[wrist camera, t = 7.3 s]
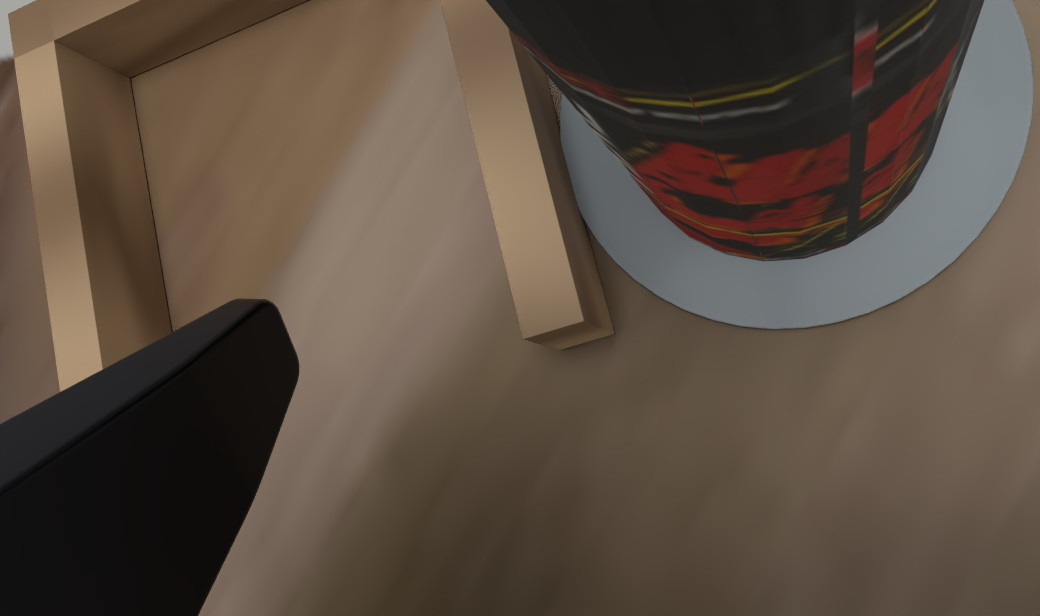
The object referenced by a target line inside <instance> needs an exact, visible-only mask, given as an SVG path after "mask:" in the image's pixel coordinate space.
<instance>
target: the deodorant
mask: <svg viewBox="0 0 1040 616" xmlns="http://www.w3.org/2000/svg"><path fill="white" fill-rule="evenodd" d="M486 1H487V2H488V4H489V5H490V6H491V7H492V8H493V10H494V11H495V12H496V13H497V15H498V16H499V17H500V18H501V19H502V21H503V22H504V23H505V24H506V25H507V27H508V28H509V29H510V30H511V31H512V33H513V34H514V35H515V36H516V38H517V39H518V40H519V41H520V42H521V44H522V45H523V46H524V47H525V48H526V50H527V51H528V52H529V53H530V54H531V56H532V57H533V58H534V59H535V61H536V62H537V63H538V64H539V65H540V67H541V68H542V69H543V70H544V71H545V73H546V74H547V75H548V76H549V77H550V79H551V80H552V81H553V82H554V84H555V85H556V86H557V87H558V88H559V90H560V91H561V92H562V93H563V94H564V96H565V97H566V98H567V99H568V100H569V102H570V103H571V104H572V105H573V107H574V108H575V109H576V110H577V111H578V113H579V114H580V115H581V116H582V117H583V119H584V120H585V121H586V122H587V123H588V125H589V126H590V127H591V128H592V130H593V131H594V132H595V133H596V134H597V136H598V137H599V138H600V139H601V140H602V142H603V143H604V144H605V145H606V146H607V148H608V149H609V150H610V151H611V153H612V154H613V155H614V156H615V157H616V159H617V160H618V161H619V162H620V163H621V165H622V166H623V167H624V168H625V169H626V171H627V172H628V173H629V174H630V176H631V177H632V178H633V179H634V180H635V182H636V183H637V184H638V185H639V186H640V188H641V189H642V190H643V191H644V192H645V194H646V195H647V196H648V197H649V199H650V200H651V201H652V202H653V203H654V205H655V206H656V207H657V208H658V209H659V211H660V212H661V213H662V214H663V215H664V216H665V217H667V218H668V219H669V220H670V221H671V222H672V223H674V224H675V225H676V226H677V227H678V228H679V229H680V230H682V231H683V232H684V233H685V234H686V235H687V236H688V237H690V238H692V239H694V240H696V241H698V242H700V243H702V244H704V245H706V246H708V247H710V248H713V249H715V250H717V251H719V252H721V253H723V254H726V255H732V256H737V257H743V258H748V259H753V260H759V261H779V260H792V259H805V258H808V257H812V256H815V255H818V254H821V253H824V252H827V251H830V250H833V249H836V248H840V247H843V246H846V245H847V244H849V243H851V242H852V241H854V240H855V239H857V238H859V237H860V236H862V235H863V234H865V233H867V232H868V231H870V230H871V229H873V228H875V227H876V226H878V225H879V224H881V223H883V221H884V220H885V219H886V218H887V217H888V216H889V215H890V214H891V213H892V212H893V211H894V210H895V209H896V208H897V207H898V206H899V205H900V204H901V203H902V201H903V200H904V199H905V198H906V197H907V196H908V195H909V194H910V193H911V192H912V191H913V189H914V187H915V185H916V183H917V181H918V179H919V178H920V176H921V174H922V172H923V170H924V168H925V166H926V165H927V163H928V161H929V159H930V157H931V155H932V153H933V150H934V147H935V144H936V141H937V138H938V135H939V132H940V129H941V126H942V124H943V121H944V118H945V115H946V112H947V109H948V106H949V103H950V100H951V97H952V94H953V91H954V88H955V85H956V82H957V80H958V77H959V74H960V71H961V68H962V65H963V62H964V59H965V56H966V53H967V50H968V47H969V44H970V41H971V38H972V35H973V33H974V30H975V27H976V24H977V21H978V18H979V15H980V12H981V9H982V6H983V3H984V0H486Z"/></svg>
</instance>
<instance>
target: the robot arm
mask: <svg viewBox="0 0 1040 616" xmlns="http://www.w3.org/2000/svg"><path fill="white" fill-rule="evenodd" d="M298 376H299V361H298V357H297V354H296V351H295V349H294V346H293V344H292V341H291V339H290V337H289V334H288V332H287V329H286V327H285V324H284V322H283V319H282V317H281V314H280V312H279V310H278V308H277V307H276V306H275V305H274V303H272V302H271V301H268V300H266V299H235V300H232V301H230V302H228V303H226V304H224V305H222V306H220V307H219V308H217V309H215V310H213V311H211V312H209V313H207V314H205V315H204V316H202V317H200V318H198V319H196V320H194V321H192V322H190V323H189V324H187V325H185V326H183V327H181V328H179V329H177V330H175V331H174V332H172V333H170V334H168V335H166V336H164V337H162V338H160V339H159V340H157V341H155V342H153V343H151V344H149V345H147V346H145V347H144V348H142V349H140V350H138V351H136V352H134V353H132V354H130V355H129V356H127V357H125V358H123V359H121V360H119V361H117V362H115V363H114V364H112V365H110V366H108V367H106V368H104V369H102V370H100V371H99V372H97V373H95V374H93V375H91V376H89V377H87V378H85V379H84V380H82V381H80V382H78V383H76V384H74V385H72V386H70V387H69V388H67V389H65V390H63V391H61V392H59V393H57V394H55V395H54V396H52V397H50V398H48V399H46V400H44V401H42V402H40V403H39V404H37V405H35V406H33V407H31V408H29V409H27V410H25V411H24V412H22V413H20V414H18V415H16V416H14V417H12V418H10V419H9V420H7V421H5V422H3V423H1V424H0V616H198V615H199V613H200V610H201V608H202V606H203V604H204V602H205V600H206V598H207V596H208V594H209V592H210V590H211V588H212V586H213V584H214V582H215V580H216V578H217V576H218V573H219V571H220V569H221V567H222V565H223V563H224V561H225V559H226V557H227V555H228V553H229V551H230V549H231V547H232V545H233V543H234V541H235V538H236V536H237V534H238V532H239V530H240V528H241V526H242V524H243V522H244V520H245V518H246V516H247V514H248V511H249V509H250V507H251V505H252V503H253V500H254V498H255V495H256V493H257V490H258V488H259V485H260V483H261V480H262V478H263V475H264V472H265V470H266V467H267V464H268V461H269V459H270V456H271V453H272V450H273V448H274V445H275V442H276V439H277V436H278V434H279V431H280V428H281V425H282V423H283V420H284V417H285V414H286V412H287V409H288V406H289V403H290V401H291V398H292V395H293V392H294V390H295V387H296V384H297V381H298Z"/></svg>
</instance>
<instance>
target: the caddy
mask: <svg viewBox="0 0 1040 616" xmlns="http://www.w3.org/2000/svg"><path fill="white" fill-rule="evenodd" d="M305 1H307V0H37V1H34V2H32V3H30V4H28V5H26V6H24V7H22V8H19V9H17V10H16V11H13V12H11V13H9V14H8V17H9V24H10V31H11V39H12V46H13V53H14V60H15V67H16V75H17V82H18V89H19V96H20V104H21V111H22V118H23V125H24V133H25V140H26V147H27V154H28V161H29V169H30V176H31V183H32V190H33V198H34V205H35V212H36V219H37V226H38V234H39V241H40V248H41V255H42V263H43V270H44V277H45V284H46V292H47V299H48V306H49V313H50V320H51V328H52V335H53V342H54V349H55V357H56V364H57V371H58V378H59V386H60V392H61V391H63V390H65V389H67V388H69V387H70V386H72V385H74V384H76V383H78V382H80V381H82V380H84V379H85V378H87V377H89V376H91V375H93V374H95V373H97V372H99V371H100V370H102V369H104V368H106V367H108V366H110V365H112V364H114V363H115V362H117V361H119V360H121V359H123V358H125V357H127V356H129V355H130V354H132V353H134V352H136V351H138V350H140V349H142V348H144V347H145V346H147V345H149V344H151V343H153V342H155V341H157V340H159V339H160V338H162V337H164V336H166V335H168V334H170V333H172V331H171V325H170V319H169V313H168V307H167V301H166V295H165V289H164V283H163V277H162V271H161V264H160V258H159V252H158V246H157V240H156V234H155V228H154V222H153V216H152V210H151V204H150V198H149V192H148V186H147V180H146V174H145V168H144V162H143V156H142V150H141V144H140V138H139V131H138V125H137V119H136V113H135V107H134V101H133V95H132V89H131V83H130V78H131V77H134V76H136V75H138V74H140V73H143V72H145V71H147V70H150V69H152V68H154V67H156V66H159V65H161V64H163V63H166V62H168V61H170V60H172V59H175V58H177V57H179V56H182V55H184V54H186V53H188V52H191V51H193V50H195V49H198V48H200V47H202V46H204V45H207V44H209V43H211V42H214V41H216V40H218V39H220V38H223V37H225V36H227V35H230V34H232V33H234V32H236V31H239V30H241V29H243V28H246V27H248V26H250V25H252V24H255V23H257V22H259V21H262V20H264V19H266V18H269V17H271V16H273V15H275V14H278V13H280V12H282V11H285V10H287V9H289V8H291V7H294V6H296V5H298V4H301V3H303V2H305ZM440 1H441V6H442V10H443V14H444V18H445V22H446V26H447V30H448V34H449V38H450V42H451V46H452V50H453V55H454V59H455V63H456V67H457V71H458V75H459V79H460V83H461V87H462V91H463V95H464V100H465V104H466V108H467V112H468V116H469V120H470V124H471V128H472V132H473V136H474V140H475V144H476V149H477V153H478V157H479V161H480V165H481V169H482V173H483V177H484V181H485V185H486V189H487V194H488V198H489V202H490V206H491V210H492V214H493V218H494V222H495V226H496V230H497V234H498V238H499V243H500V247H501V251H502V255H503V259H504V263H505V267H506V271H507V275H508V279H509V283H510V287H511V292H512V296H513V300H514V304H515V308H516V312H517V316H518V320H519V324H520V328H521V332H522V337H523V339H525V340H528V341H531V342H535V343H538V344H542V345H545V346H549V347H552V348H556V349H559V350H562V349H565V348H569V347H572V346H576V345H579V344H583V343H586V342H589V341H593V340H596V339H600V338H603V337H606V336H610V335H613V334H615V333H614V330H613V326H612V322H611V318H610V315H609V311H608V307H607V303H606V299H605V296H604V292H603V288H602V284H601V281H600V277H599V273H598V269H597V266H596V262H595V258H594V254H593V251H592V247H591V243H590V239H589V235H588V232H587V228H586V224H585V220H584V218H583V217H582V214H581V212H580V210H579V208H578V205H577V201H576V197H575V193H574V190H573V186H572V182H571V178H570V175H569V171H568V167H567V163H566V159H565V156H564V152H563V148H562V144H561V141H560V126H559V123H558V119H557V115H556V111H555V108H554V104H553V100H552V96H551V92H550V89H549V85H548V81H547V77H546V74H545V71H544V70H543V69H542V68H541V67H540V65H539V64H538V63H537V62H536V61H535V59H534V58H533V57H532V56H531V54H530V53H529V52H528V51H527V50H526V48H525V47H524V46H523V45H522V44H521V42H520V41H519V40H518V39H517V38H516V36H515V35H514V34H513V33H512V31H511V30H510V29H509V28H508V27H507V25H506V24H505V23H504V22H503V21H502V19H501V18H500V17H499V16H498V15H497V13H496V12H495V11H494V10H493V8H492V7H491V6H490V5H489V4H488V2H487V1H486V0H440Z"/></svg>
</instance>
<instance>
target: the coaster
mask: <svg viewBox="0 0 1040 616" xmlns="http://www.w3.org/2000/svg"><path fill="white" fill-rule="evenodd" d="M1032 103H1033V77H1032V65H1031V56H1030V52H1029V48H1028V44H1027V39H1026V35H1025V31H1024V27H1023V25H1022V23H1021V20H1020V18H1019V15H1018V13H1017V10H1016V8H1015V6H1014V3H1013V1H1012V0H984V3H983V6H982V9H981V12H980V15H979V18H978V21H977V24H976V27H975V30H974V33H973V35H972V38H971V41H970V44H969V47H968V50H967V53H966V56H965V59H964V62H963V65H962V68H961V71H960V74H959V77H958V80H957V82H956V85H955V88H954V91H953V94H952V97H951V100H950V103H949V106H948V109H947V112H946V115H945V118H944V121H943V124H942V126H941V129H940V132H939V135H938V138H937V141H936V144H935V147H934V150H933V153H932V155H931V157H930V159H929V161H928V163H927V165H926V166H925V168H924V170H923V172H922V174H921V176H920V178H919V179H918V181H917V183H916V185H915V187H914V189H913V191H912V192H911V193H910V194H909V195H908V196H907V197H906V198H905V199H904V200H903V201H902V203H901V204H900V205H899V206H898V207H897V208H896V209H895V210H894V211H893V212H892V213H891V214H890V215H889V216H888V217H887V218H886V219H885V220H884V221H883V223H881V224H879V225H878V226H876V227H875V228H873V229H871V230H870V231H868V232H867V233H865V234H863V235H862V236H860V237H859V238H857V239H855V240H854V241H852V242H851V243H849V244H847V245H846V246H843V247H840V248H836V249H833V250H830V251H827V252H824V253H821V254H818V255H815V256H812V257H808V258H805V259H792V260H779V261H759V260H753V259H748V258H743V257H737V256H732V255H726V254H723V253H721V252H719V251H717V250H715V249H713V248H710V247H708V246H706V245H704V244H702V243H700V242H698V241H696V240H694V239H692V238H690V237H688V236H687V235H686V234H685V233H684V232H683V231H682V230H680V229H679V228H678V227H677V226H676V225H675V224H674V223H672V222H671V221H670V220H669V219H668V218H667V217H665V216H664V215H663V214H662V213H661V212H660V211H659V209H658V208H657V207H656V206H655V205H654V203H653V202H652V201H651V200H650V199H649V197H648V196H647V195H646V194H645V192H644V191H643V190H642V189H641V188H640V186H639V185H638V184H637V183H636V182H635V180H634V179H633V178H632V177H631V176H630V174H629V173H628V172H627V171H626V169H625V168H624V167H623V166H622V165H621V163H620V162H619V161H618V160H617V159H616V157H615V156H614V155H613V154H612V153H611V151H610V150H609V149H608V148H607V146H606V145H605V144H604V143H603V142H602V140H601V139H600V138H599V137H598V136H597V134H596V133H595V132H594V131H593V130H592V128H591V127H590V126H589V125H588V123H587V122H586V121H585V120H584V119H583V117H582V116H581V115H580V114H579V113H578V111H577V110H576V109H575V108H574V107H573V105H572V104H571V103H570V102H569V100H568V99H567V98H566V97H565V96H564V94H563V93H562V101H561V110H560V141H561V144H562V148H563V152H564V156H565V159H566V163H567V167H568V171H569V175H570V178H571V182H572V186H573V190H574V193H575V197H576V201H577V205H578V208H579V210H580V212H581V214H582V217H583V218H584V220H585V222H586V223H587V225H588V226H589V228H590V230H591V231H592V233H593V235H594V236H595V238H596V239H597V241H598V242H599V243H600V244H601V246H602V247H603V248H604V249H605V250H606V252H607V253H608V254H609V255H610V256H611V258H612V259H613V260H614V261H615V262H616V263H617V264H618V265H619V266H620V267H621V268H623V269H624V270H625V271H626V272H627V273H628V274H629V275H630V276H631V277H632V278H633V279H635V280H636V281H637V282H639V283H640V284H641V285H643V286H644V287H646V288H647V289H649V290H650V291H652V292H653V293H654V294H656V295H657V296H659V297H660V298H662V299H664V300H666V301H668V302H670V303H672V304H674V305H676V306H678V307H680V308H681V309H683V310H685V311H688V312H691V313H693V314H696V315H699V316H702V317H705V318H708V319H710V320H713V321H717V322H722V323H727V324H731V325H736V326H741V327H748V328H760V329H772V330H778V329H802V328H811V327H816V326H822V325H828V324H834V323H839V322H842V321H845V320H849V319H852V318H856V317H859V316H862V315H866V314H869V313H871V312H873V311H875V310H878V309H880V308H882V307H884V306H887V305H889V304H891V303H894V302H896V301H898V300H900V299H901V298H903V297H905V296H906V295H908V294H910V293H911V292H913V291H915V290H916V289H918V288H920V287H921V286H923V285H925V284H926V283H928V282H929V281H930V280H931V279H933V278H934V277H935V276H936V275H938V274H939V273H940V272H942V271H943V270H944V269H945V268H947V267H948V266H949V265H950V264H952V263H953V262H954V261H955V260H956V259H957V258H958V257H959V256H960V255H961V253H962V252H963V251H964V250H965V249H966V248H967V247H968V246H969V245H970V244H971V243H972V242H973V241H974V240H975V239H976V238H977V236H978V235H979V234H980V232H981V231H982V230H983V228H984V227H985V226H986V224H987V223H988V222H989V220H990V219H991V218H992V216H993V215H994V213H995V212H996V211H997V209H998V207H999V206H1000V204H1001V202H1002V200H1003V198H1004V197H1005V195H1006V193H1007V191H1008V189H1009V187H1010V186H1011V184H1012V182H1013V180H1014V177H1015V174H1016V172H1017V169H1018V167H1019V164H1020V161H1021V159H1022V156H1023V153H1024V151H1025V146H1026V142H1027V137H1028V133H1029V128H1030V123H1031V117H1032Z"/></svg>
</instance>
